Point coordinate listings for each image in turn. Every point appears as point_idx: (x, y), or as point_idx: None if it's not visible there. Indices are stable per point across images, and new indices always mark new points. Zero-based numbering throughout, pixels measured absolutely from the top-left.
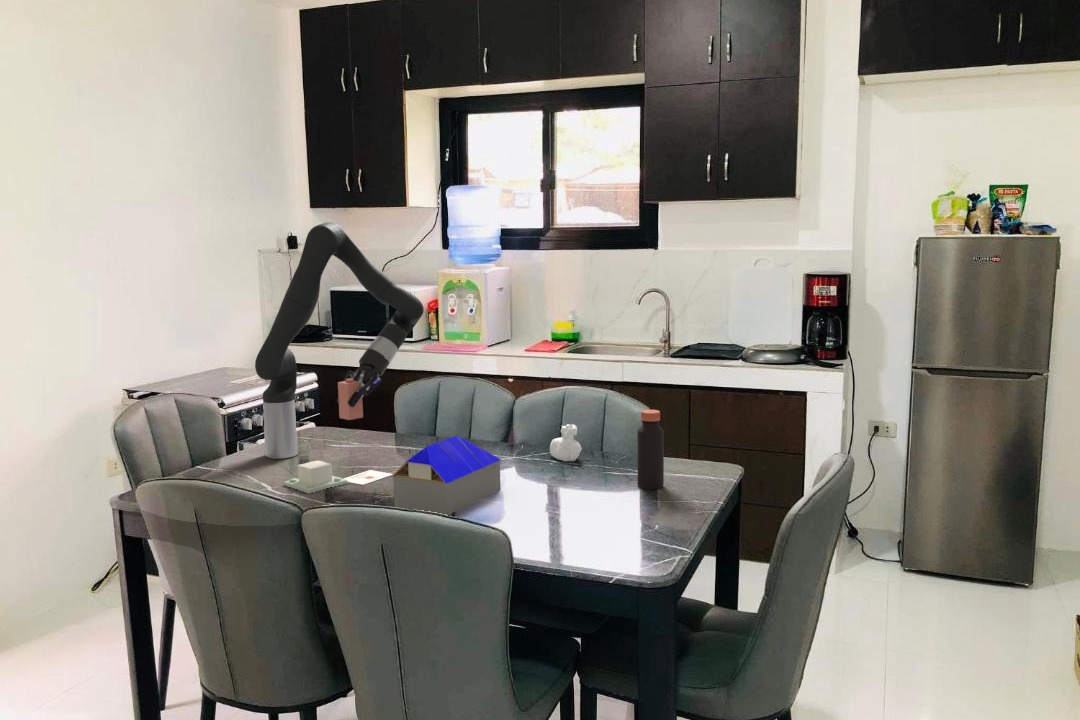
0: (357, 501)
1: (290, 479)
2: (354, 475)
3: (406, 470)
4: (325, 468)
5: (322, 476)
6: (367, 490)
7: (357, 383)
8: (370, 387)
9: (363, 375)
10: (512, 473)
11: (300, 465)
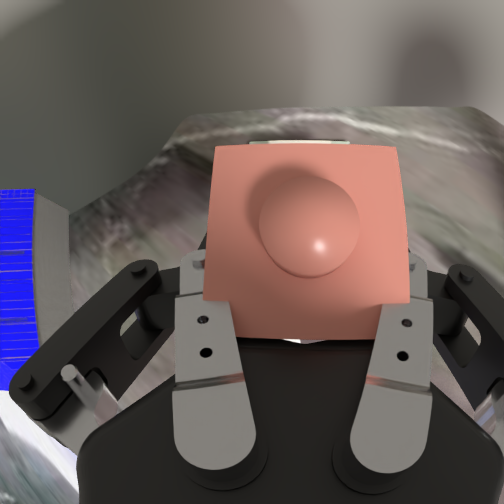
0: (133, 184)
1: None
2: None
3: (27, 225)
4: None
5: None
6: (167, 238)
7: (207, 275)
8: (133, 359)
9: (177, 386)
10: (63, 470)
11: (321, 142)
